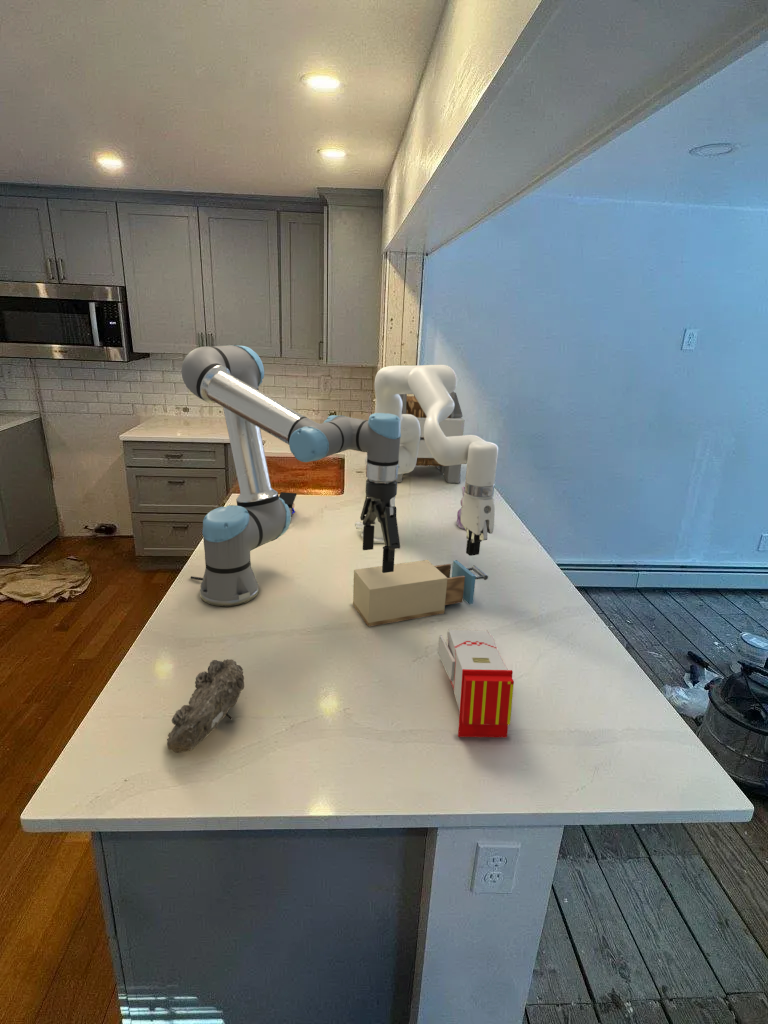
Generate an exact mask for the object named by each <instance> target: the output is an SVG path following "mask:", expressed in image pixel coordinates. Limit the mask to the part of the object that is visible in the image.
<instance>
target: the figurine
mask: <svg viewBox="0 0 768 1024" xmlns="http://www.w3.org/2000/svg"><path fill="white" fill-rule="evenodd" d="M464 491H465V485H464V486H461V493H462V497H461V500H460V506H461V508H462V502H463V497H464ZM461 508H459V509H458V510H457V513H456V517H457V518H456V522H455V523H456V526H458V528H459V529H463V530H465V528H464V527H463V525H462V524H461Z"/></svg>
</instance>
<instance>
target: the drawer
mask: <svg viewBox="0 0 768 1024" xmlns="http://www.w3.org/2000/svg"><path fill="white" fill-rule="evenodd" d="M434 566H435V567H436V568H437V569H438V570H439V571H440V572H441V573H442V574H444V575H445V576H446V577H447V587H446V598H445V606H449V605H455V604H461V603H463V601H465V602H466V603H467V604H468V605H473V604H474V596H475V588H476V580H485V581H486V580H488V579H489V575H488V574H486V573H485V572H483V570H481V569H480V568H479V567H478V566H477V565H476V564H475V565H472V566H471V567H466V566H465V565H464V564H462V563H461V562H460V561H459V560H457V559H456V560H452V564H451V563H445V564H438V565H437V564H436V565H434ZM472 571H473V572H474V573H473V572H472ZM476 574H477V575H478V576H477V575H476Z"/></svg>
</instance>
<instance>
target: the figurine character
mask: <svg viewBox="0 0 768 1024" xmlns="http://www.w3.org/2000/svg"><path fill="white" fill-rule="evenodd" d="M297 494H298V493H295V492H280V493H279V494H278V496H279V498H281V499H283V500H284V501H285V504H287V505H288V507H289V510H290V514H291V518H292V517H293V515H294V514H295V513H296V510H295V500H296V498H297Z"/></svg>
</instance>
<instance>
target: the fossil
mask: <svg viewBox="0 0 768 1024" xmlns="http://www.w3.org/2000/svg"><path fill="white" fill-rule="evenodd" d="M243 670H244V669H243V667H242V665H240V664H237V662H236V661H235V660H234V659H232V658H231V659H227V658H226V659H224V660H223V661H222V660H217V659H212V660H211V661H210V663H209V665H208V666H207V671H201V672H199V673H198V674H197V675H196V676H195V680H194V684H195V685H194V687H195V689H194V690H193V693H192V694H191V697H190V698H189V700H188V704H184V705H182V706H181V707H180V709H177V710H176V711H175V713H174V715H173V716H172V718H171V723H172V724H173V727H172V730H171V731H170V732H168V734H167V738H166V741H167V742H166V745H167V749H168V750H169V751H173V752H174V753H176V754H178V753H182V752H188V751H189V752H192V751H193V750H195V748H196V747H197V746H199V744H200V743H201V742H203V741H204V740H205V739H206V738H207V737H208V736H209V735H210V734H211V733H212V732H214V730H215V729H217V727H218V726H219V724H220V722H221V721H222V720H223V719H224V718H225V716H226V717H227V719H229V720H233V717H232V715H230V714H229V710H230V709H231V708H234V706H235V704H236V703H237V702H238V699H239V697H240V695H241V693H242V691H243V690H245V689H244V688H245V675H244V671H243Z"/></svg>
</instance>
